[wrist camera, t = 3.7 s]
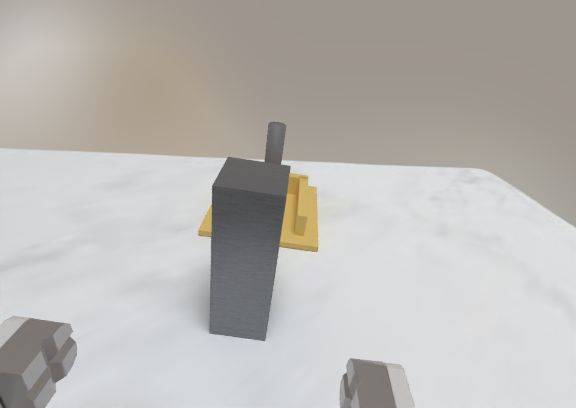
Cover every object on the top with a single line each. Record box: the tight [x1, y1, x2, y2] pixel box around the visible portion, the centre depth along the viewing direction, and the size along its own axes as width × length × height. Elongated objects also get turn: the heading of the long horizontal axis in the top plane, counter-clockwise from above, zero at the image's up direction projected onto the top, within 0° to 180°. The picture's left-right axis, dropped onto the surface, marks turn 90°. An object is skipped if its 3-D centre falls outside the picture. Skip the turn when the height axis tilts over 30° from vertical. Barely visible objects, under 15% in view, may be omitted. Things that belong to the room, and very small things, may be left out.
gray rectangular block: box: [210, 157, 290, 341], centre depth 22 cm, size 4×4×12 cm
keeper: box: [199, 122, 318, 252], centre depth 36 cm, size 12×13×9 cm
